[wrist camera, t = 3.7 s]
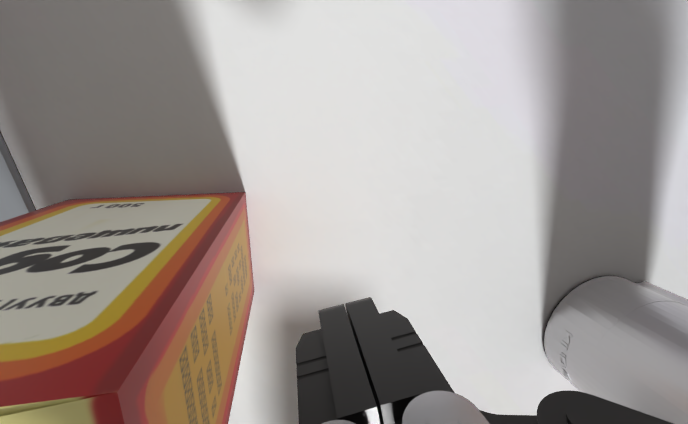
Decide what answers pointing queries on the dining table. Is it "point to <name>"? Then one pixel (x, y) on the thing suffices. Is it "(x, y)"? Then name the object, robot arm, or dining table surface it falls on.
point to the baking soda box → (124, 310)
